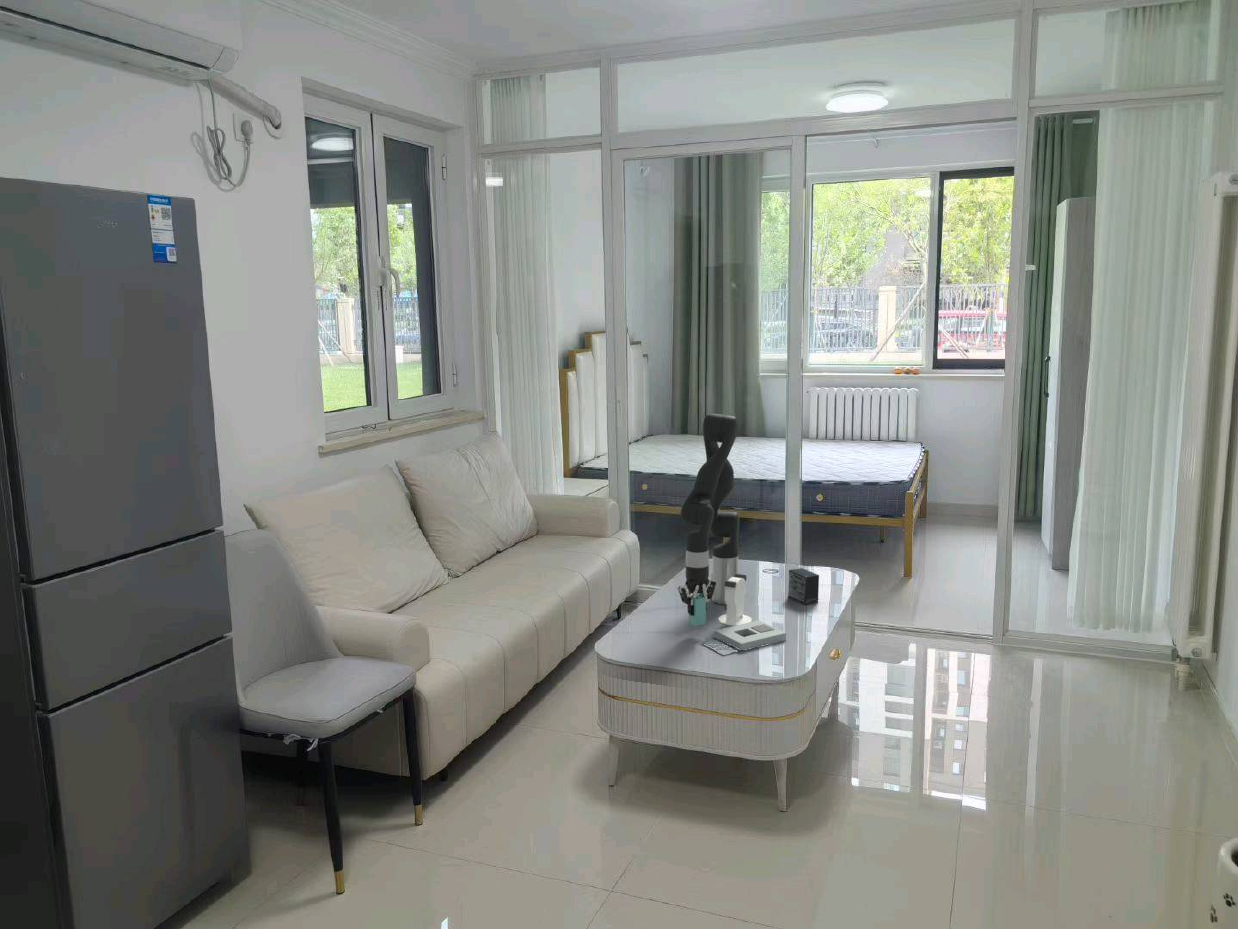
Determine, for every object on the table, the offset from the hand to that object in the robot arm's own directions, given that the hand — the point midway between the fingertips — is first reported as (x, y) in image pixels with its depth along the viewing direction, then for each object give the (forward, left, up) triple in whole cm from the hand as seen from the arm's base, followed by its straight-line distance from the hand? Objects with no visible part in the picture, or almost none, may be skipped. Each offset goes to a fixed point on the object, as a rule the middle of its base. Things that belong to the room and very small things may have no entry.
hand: (697, 613), depth 304 cm
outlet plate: (+11, +13, -8) cm, 19 cm away
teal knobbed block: (0, 0, -3) cm, 3 cm away
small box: (-10, +54, -8) cm, 55 cm away
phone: (+12, 0, -8) cm, 15 cm away
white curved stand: (-6, +20, -8) cm, 22 cm away
